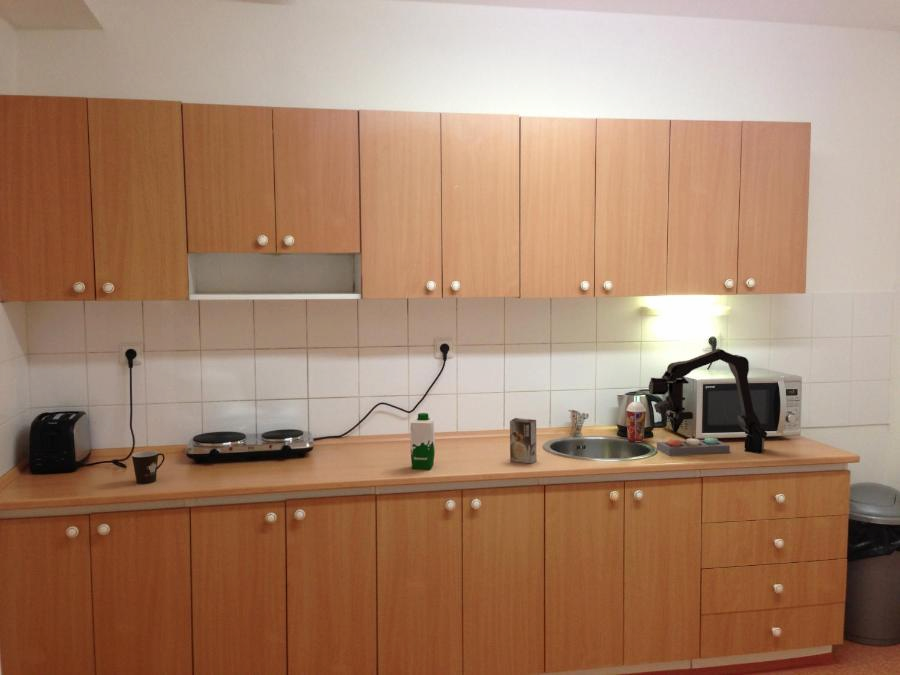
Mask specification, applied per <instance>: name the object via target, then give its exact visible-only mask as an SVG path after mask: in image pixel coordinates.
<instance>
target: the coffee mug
mask: <svg viewBox="0 0 900 675" xmlns="http://www.w3.org/2000/svg"><path fill="white" fill-rule="evenodd" d="M159 456H162V459H161V462H160V464H159V465H158V462H159V459H158V458H159ZM131 458H132V463H133V464H132V465H133V470H134V474H135V480H136V481H135V482H136V484H138V485H149V484H153V483H155V482H157V472H158V469H159V468H160V467H161V466H162V465H163V463H164V461H165V459H166V458H165V455H164V453H159V452H158V451H155V450H143V451H139V452H135V453H134V452H133V453H132V454H131Z"/></svg>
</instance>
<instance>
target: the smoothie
mask: <svg viewBox="0 0 900 675" xmlns="http://www.w3.org/2000/svg"><path fill="white" fill-rule="evenodd" d="M625 412H626V428H627V433H626V434H627V438H628V441H629V440H630V441H629V442H631V441H642V440H644V438H645V429H646V415H647V409H646V408H645V406H644V404H643V403H642V402H640V401H639V400H638V395H637V394H635V400H634V401H632V402H630V403H629V404H628V406H627V407H626V409H625ZM642 442H643V441H642Z"/></svg>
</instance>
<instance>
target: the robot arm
mask: <svg viewBox="0 0 900 675" xmlns="http://www.w3.org/2000/svg"><path fill="white" fill-rule="evenodd" d="M718 361H722V362H724V363H726V364H728V367H729V370H730V372H731V373H732V376H734V380H735V383H736V389H737V394H738V399H739V404H740V409H741V413H740V415H736V416H737V419H738V426H739V427H740V428H741V429H742V430H743V431H744V434H745V438H744V450H743V451H744V452H747V453H748V452H750V453H757V454H762V453H764V452H765V451H766V449H765V439H766V438H767V435H768V432H767V431H765V429H763V427H762V424H761V421H760V419H759V416H758V415H757V414H756V412H755V408H754V404H753V399H752V394H751V390H750V384H749V380H748V376H749V372H750V363H749V360H748V358H747V357H746V356H742V355H738V354H733V353H729V352H727V351H726V350H724V349H721V348H715V349H714V350H711V351H709V352H706V353H704V354H701V355H698V356H696V357H693V358H691V359H688V360H681V361H680V360H679V361H676V362H675V361H674V362H670V364H668V365H667V368H666V370H665V372H664V373H663V375H662V376H661V377H650V380H649V383H648V393H649V395H650V396H652V395H657V396H661V395H663V396H664V395H666V394H667V395H666V396H665V400H662V401H659V402H656V403H654V404H653V406H654V410H655V412H656V413H658V414H659V415H662V414H664V413H665V414H664V416H666V417H667V418H668V419H669V422H670V425H671V429H672V432H673V433H674V434H675V433H678V431H679V428H680V427H681V425H682V424H683V422H684V420H693V419H694V413H693V412H692V411H690V410H688V409H686V407H685V406H684V401H686V397H685V396H684V384H685V385H687V384H690V382H689V381H688V380H687V379H686V378H685V377H686V376H688V375H689V374H690V373H691V372H692V371H694V370H696V369H700V368H702V367H704V366H706V365H709V364H712V363H715V362H718Z"/></svg>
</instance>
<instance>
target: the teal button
mask: <svg viewBox="0 0 900 675" xmlns="http://www.w3.org/2000/svg"><path fill="white" fill-rule="evenodd" d="M704 440H705V444H707V445H716V444H718V441H719V440H718V438H715V437H705V438H704Z"/></svg>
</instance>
